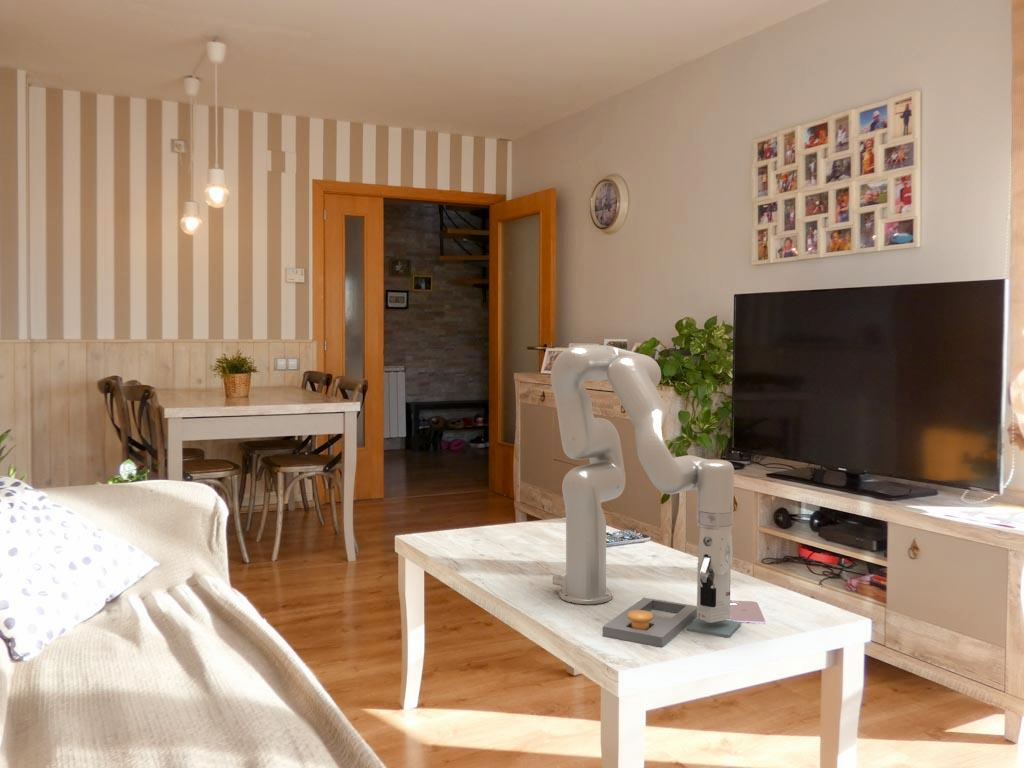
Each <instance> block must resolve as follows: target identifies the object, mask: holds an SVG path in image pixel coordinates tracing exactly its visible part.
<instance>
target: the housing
mask: <svg viewBox="0 0 1024 768" xmlns="http://www.w3.org/2000/svg"><path fill="white" fill-rule="evenodd" d="M633 610H645V611H649V612H651V611H652V610H657V611H663V612H667V613H668V612H669V613H673V614H674V613H675V615H673V616H672V617H671V618H670V617H664V616H659V615H654V614H653V619H652V620H651V621H649V629H648V630H647V631H646V630H641V629H635V628H632V620H630V619H628V612H630V611H633ZM696 619H697V605H693V604H687V603H680V602H674V601H667V600H661V599H655V598H649V597H643V598H641V599H640V600H638V601H637V602H635V603H634V604H633V605H631V606H630V607H628V608H627V609H625V610H623V611H622V612H621V613H620V614H618V615H617V616H616V617H613V619H611V620H610V621H608V622H607V623H605V624H603V626H602V637H607V638H612V639H617V640H623V641H628V642H633V643H638V644H643V645H647V646H654V647H659V648H663V647H664V646H666V645H667V644H668V643H669V642H670V641H671V640H672V639H673V638H675V636H677V635H678V634H679V633H680V632H681V631H683V630H684V629H685V628H687V627H688V626H689V625H690V624H691V623H692V621H693V622H694V621H695V620H696Z"/></svg>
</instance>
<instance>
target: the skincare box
mask: <svg viewBox="0 0 1024 768" xmlns="http://www.w3.org/2000/svg"><path fill="white" fill-rule="evenodd" d="M731 568H732V567H731V563H730V564H729V570H728V571H727V572H726V573H724V574H723V575H722V576H718V575H717V574H716V581H715V587H714V588H716V606H715V607H707V606H702V605H701V604H700V589H701V587H700V583H701V581H700V572H699V569H698V568H697V576H696V577H697V585H696V586H697V589H696V606H697V617H696V619H697V618H699V619H701V620H703V621H706V622H709V623H713V622H717V621H722V620H730V600H731ZM708 572H709V573H713V570H712V569H710V570H708ZM708 577H709V578H710V580H712V577H711V576H708Z"/></svg>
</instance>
